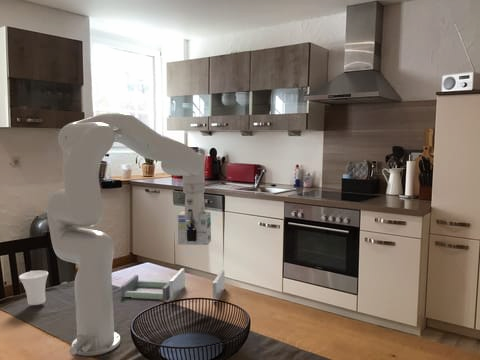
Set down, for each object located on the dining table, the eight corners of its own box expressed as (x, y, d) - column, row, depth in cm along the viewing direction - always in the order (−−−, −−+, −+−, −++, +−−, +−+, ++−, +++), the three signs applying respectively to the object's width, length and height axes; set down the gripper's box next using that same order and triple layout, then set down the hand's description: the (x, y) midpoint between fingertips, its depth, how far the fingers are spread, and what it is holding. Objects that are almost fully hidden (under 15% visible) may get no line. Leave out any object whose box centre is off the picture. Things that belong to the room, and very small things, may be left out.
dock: (166, 299, 148) (165, 288, 148) (121, 297, 151) (121, 286, 151) (177, 287, 161) (176, 276, 160) (135, 285, 163) (135, 275, 163)
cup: (47, 295, 151) (45, 267, 150) (52, 303, 143) (50, 274, 142) (19, 300, 146) (17, 272, 145) (22, 309, 138) (20, 279, 137)
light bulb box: (211, 240, 154) (211, 211, 153) (208, 245, 147) (207, 214, 146) (182, 240, 155) (181, 210, 154) (177, 245, 148) (177, 214, 147)
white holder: (216, 303, 145) (216, 282, 144) (169, 300, 147) (169, 280, 147) (224, 288, 158) (224, 270, 158) (181, 286, 161) (181, 268, 160)
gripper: (197, 191, 140) (198, 245, 142) (210, 185, 157) (211, 233, 159) (175, 191, 141) (176, 244, 143) (190, 185, 158) (191, 233, 160)
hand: (194, 238), depth 151 cm, fingers closed on light bulb box, 7 cm apart
